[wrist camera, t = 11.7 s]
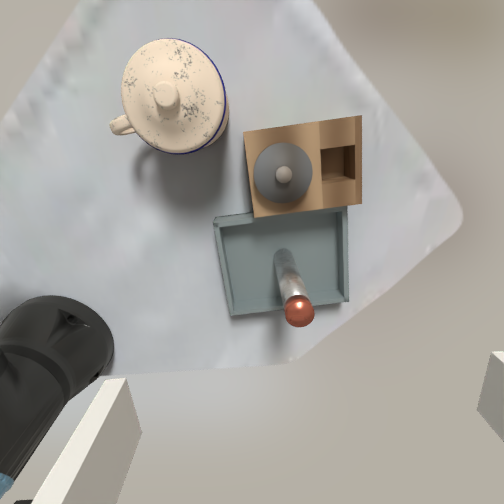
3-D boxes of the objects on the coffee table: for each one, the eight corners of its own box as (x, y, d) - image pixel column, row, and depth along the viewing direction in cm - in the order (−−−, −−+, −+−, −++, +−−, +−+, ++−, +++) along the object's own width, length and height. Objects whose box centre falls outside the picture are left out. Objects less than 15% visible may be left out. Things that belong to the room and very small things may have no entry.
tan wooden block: (253, 208, 38) (254, 223, 31) (243, 133, 35) (242, 131, 28) (347, 195, 38) (369, 208, 31) (346, 118, 34) (370, 113, 28)
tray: (231, 304, 43) (230, 315, 40) (215, 217, 38) (213, 223, 36) (342, 290, 42) (349, 301, 40) (339, 200, 38) (347, 205, 35)
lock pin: (274, 267, 40) (286, 328, 27) (272, 249, 39) (284, 304, 26) (293, 265, 40) (315, 325, 27) (292, 247, 39) (313, 300, 26)
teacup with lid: (214, 50, 32) (196, 3, 21) (242, 136, 35) (239, 134, 24) (113, 90, 33) (48, 65, 22) (149, 169, 36) (106, 182, 25)
